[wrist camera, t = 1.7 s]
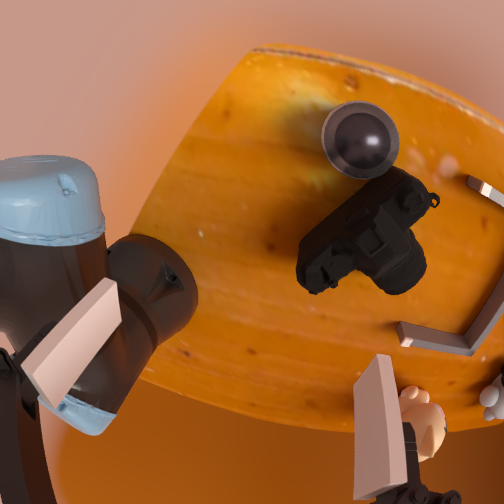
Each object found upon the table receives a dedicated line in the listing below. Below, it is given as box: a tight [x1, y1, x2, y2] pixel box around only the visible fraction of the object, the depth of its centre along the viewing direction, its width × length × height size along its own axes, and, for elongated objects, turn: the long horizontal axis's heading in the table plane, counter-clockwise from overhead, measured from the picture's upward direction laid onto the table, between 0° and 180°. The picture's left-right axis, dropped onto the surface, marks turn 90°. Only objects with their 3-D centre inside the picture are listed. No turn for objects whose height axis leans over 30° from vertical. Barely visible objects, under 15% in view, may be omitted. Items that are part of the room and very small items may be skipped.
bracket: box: [396, 175, 504, 356], centre depth 25 cm, size 14×21×3 cm, turn 168°
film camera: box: [296, 166, 440, 295], centre depth 24 cm, size 15×10×9 cm, turn 136°
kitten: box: [398, 385, 447, 462], centre depth 32 cm, size 15×10×15 cm, turn 173°
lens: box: [321, 101, 399, 179], centre depth 21 cm, size 6×6×6 cm
